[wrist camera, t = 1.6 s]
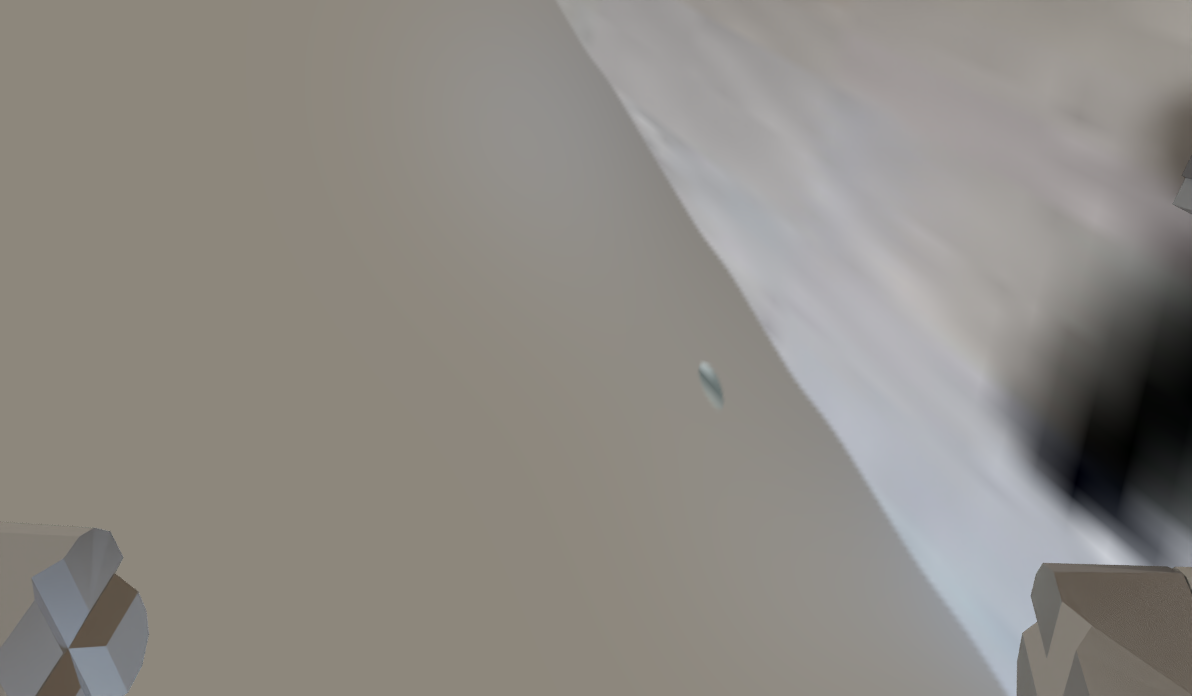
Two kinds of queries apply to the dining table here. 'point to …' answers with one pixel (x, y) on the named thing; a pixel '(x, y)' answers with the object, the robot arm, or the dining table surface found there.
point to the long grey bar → (1185, 190)
